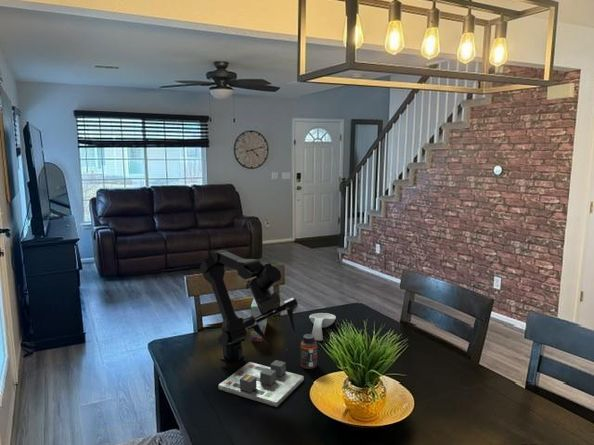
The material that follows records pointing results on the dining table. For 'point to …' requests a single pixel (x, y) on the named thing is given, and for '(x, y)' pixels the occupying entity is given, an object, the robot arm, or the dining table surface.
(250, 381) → the grey cube
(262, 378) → the block
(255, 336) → the snack box
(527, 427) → the dining table surface
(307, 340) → the supplement bottle
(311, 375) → the dining table surface
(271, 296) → the robot arm
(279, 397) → the panel
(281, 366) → the block
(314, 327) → the spoon rest
